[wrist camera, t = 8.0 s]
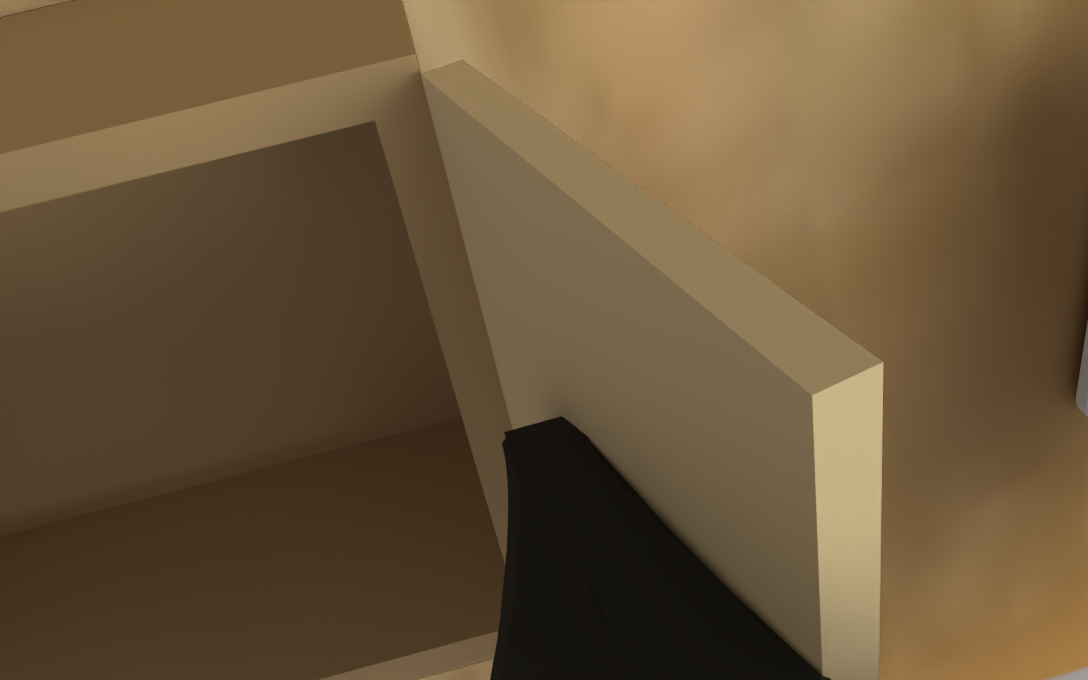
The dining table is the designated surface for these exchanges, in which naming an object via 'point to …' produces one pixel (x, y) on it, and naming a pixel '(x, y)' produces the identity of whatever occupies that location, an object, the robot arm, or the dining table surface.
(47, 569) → the carton
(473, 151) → the flap
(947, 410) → the dining table surface
